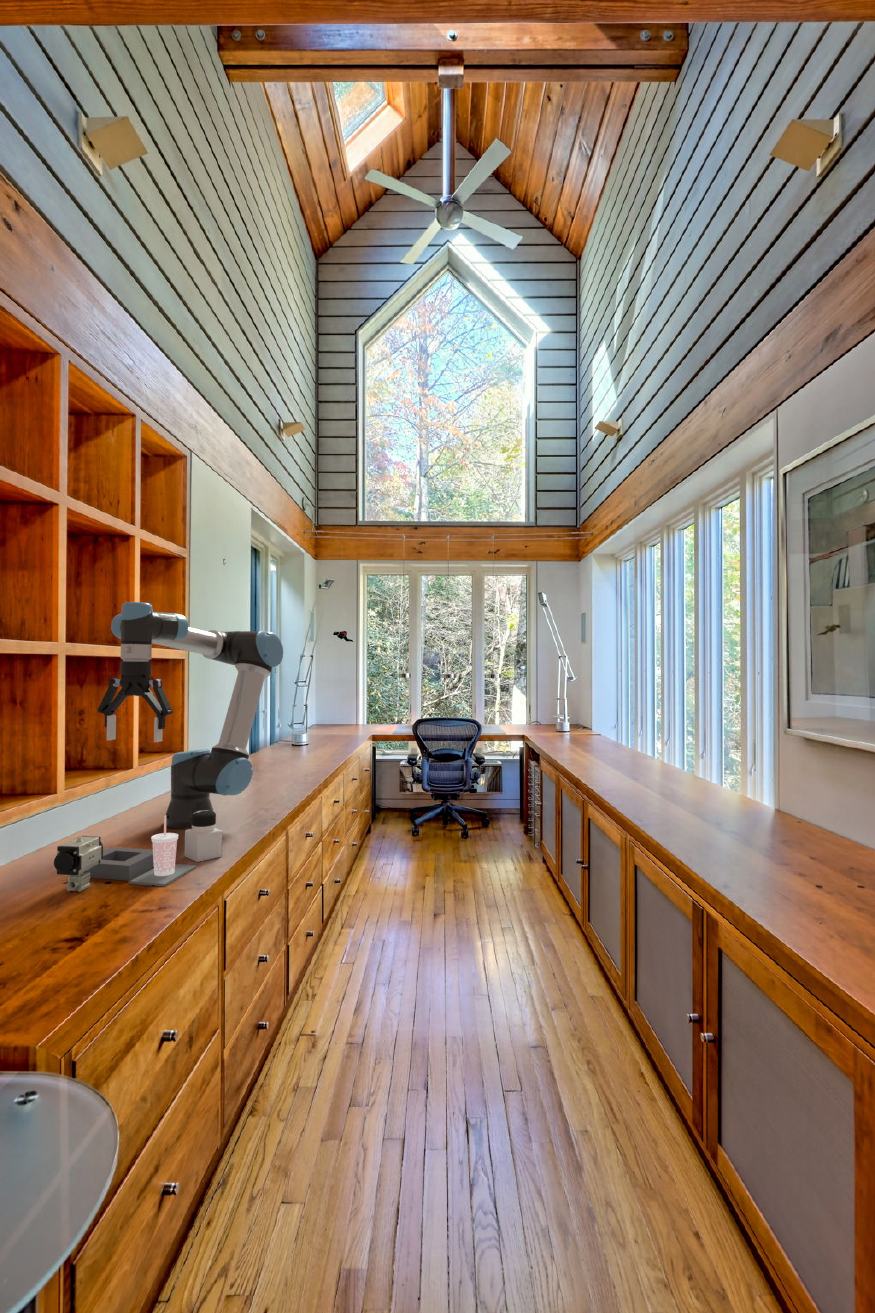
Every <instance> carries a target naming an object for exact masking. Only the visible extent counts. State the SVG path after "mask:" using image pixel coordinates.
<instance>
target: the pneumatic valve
mask: <svg viewBox="0 0 875 1313" xmlns="http://www.w3.org/2000/svg"><path fill="white" fill-rule="evenodd" d="M101 839H102V838H101V836H95V835H94V836H93V835H92V836H91V835H88V836H87V835H78V836H77V837H76V838H74V839H71V840H70V841H67V842H65V843H63V844H60V845H58V846H57V847H56V856H55V857H54V859H53V866H54V868H55V870H56V875H61V876H62V875H63V876H64V875H66V876H67V878H66V880H67V883H66V887H67V889H66V890H67V892H71V891H72V892H79V893H80V892H83V891H84V890H86V889H88V888H90V887H91V883H90V880H91V878H90V873H89V872H87V873H82V872H84V871H87V870H89V869H90V868H91V867H93V866H95V865H97V864H99V863H100V860H101V859H103V850H104V845H103V843H102V840H101Z"/></svg>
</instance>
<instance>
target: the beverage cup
mask: <svg viewBox="0 0 875 1313" xmlns="http://www.w3.org/2000/svg"><path fill="white" fill-rule="evenodd" d="M150 839H151V842H152V850H153V863H154V868H153V869H154V875H156V876H167V875H171V874H173V873H174V871H175V864H176V856H177V845H178V839H179V834H178V833H174V832H167V826H166V814H165V815H163V832H162V833H156V834H153V835H152V836H151V837H150Z"/></svg>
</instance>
